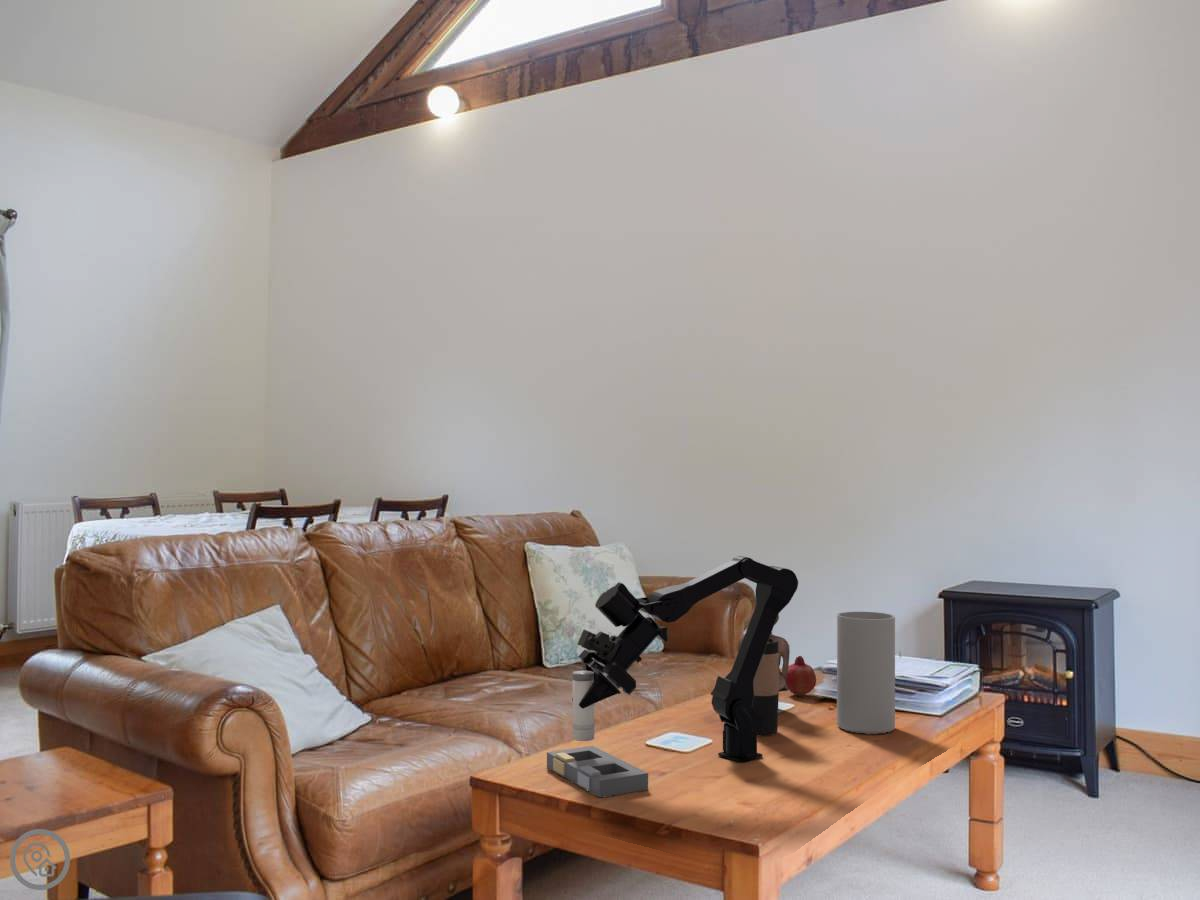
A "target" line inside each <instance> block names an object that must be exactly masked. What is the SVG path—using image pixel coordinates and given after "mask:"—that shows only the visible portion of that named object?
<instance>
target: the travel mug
mask: <svg viewBox="0 0 1200 900" xmlns="http://www.w3.org/2000/svg"><path fill="white" fill-rule="evenodd" d="M779 668H780V666H779V664H778V641H777V642H774V641H773V640H772V639H770V638H769V640H768V643H767V646H766V648H765V651H764V654H763V656H762V659H761V662H760V664H759V667H758V670H757V672H756V675H755V678H754V700H753V704H752V709H753V710H754V711H755V712H756V713H757V714H758V715H759V716H760V717H761V718H762V719H763V722H762V725H761V728H760V730H757V735H771V736H773V735H772V734H775V735H777V734H778V727H779V726H778V723H779V700H780V699H779V693H780V692H779ZM776 733H777V734H776Z"/></svg>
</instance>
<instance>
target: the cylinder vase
mask: <svg viewBox="0 0 1200 900" xmlns="http://www.w3.org/2000/svg"><path fill="white" fill-rule="evenodd" d="M836 619H837V620H836V660H837V661H836V724H837V726H838V727H839V728H840V729H842V730H843V729H844V730H843V731H846V732H849V731H850V733H853V732H856V733H855V734H859V733H869V734H868V735H880V734H879V733H884V734H887V733H886V732H888V733H891V732H893V731H894V730H895V727H896V615H895V614H890V613H886V612H885V613H884V612H877V611H876V612H875V611H845V612H843V611H842V612H839V613H837V615H836ZM876 733H878V734H876Z"/></svg>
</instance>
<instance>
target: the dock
mask: <svg viewBox="0 0 1200 900" xmlns="http://www.w3.org/2000/svg"><path fill="white" fill-rule="evenodd" d="M546 768H547V769H548V768H549V769H548V770H550V769H551V770H552V772H553V771H554V773H556V774H557V775H558V774H559V776H560V777H561V778H563V779H565V778H566V780H567V779H568V780H567V781H569V782H571V783H572V782H573V784H574V783H575V785H576V784H577V785H576V786H578V785H579V786H581V787H582V788H581V787H580V788H581V789H583V788H584V789H586V790H588V791H589V792H588V791H587V792H588V793H590V792H591V793H593V794H595V795H596V796H595V795H594V796H595V797H597V796H598V797H603V798H605V797H604V796H609V797H613V796H612V795H615V796H619V795H618V794H621V795H624V794H623V793H626V794H630V793H629V792H632V793H636V792H635V791H638V792H642V791H641V790H644V791H648V790H649V773H648V772H647V771H645V770H643V769H641V768H639V767H637V766H634V765H632V764H630V763H628V762H627V761H624V760H622V759H621V758H618V757H616V756H614V755H612V754H610V753H609V752H606V751H604V750H602V749H600V748H598V747H596V746H594V745H589V746H588V745H587V746H580V747H575V748H567V749H560V750H552V751H547V752H546ZM551 770H550V771H551ZM579 786H578V787H579ZM584 789H583V790H584ZM586 790H585V791H586ZM591 793H590V794H591ZM593 794H592V795H593ZM598 797H597V798H598Z"/></svg>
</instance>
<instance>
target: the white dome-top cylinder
mask: <svg viewBox="0 0 1200 900" xmlns="http://www.w3.org/2000/svg"><path fill="white" fill-rule="evenodd" d="M571 675H572V676H571V677H572V698H573V701H572V729H573V731H572V735H573V736H572V737H573V738H572V739H573V740H574V741H577V742H589V741H593V740H594V739H595V703H594V704H592V705H590V706H588V707H586V708H583V709H582V708H581V707H580V706H579V703H580V701H581V700H582V698H583V697H584V695H585V694H586V692H587V691H588V690H589V688H590V687H591V685H592V684H593V682H594V672H592V671H584V670H575V671H572V674H571Z"/></svg>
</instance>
